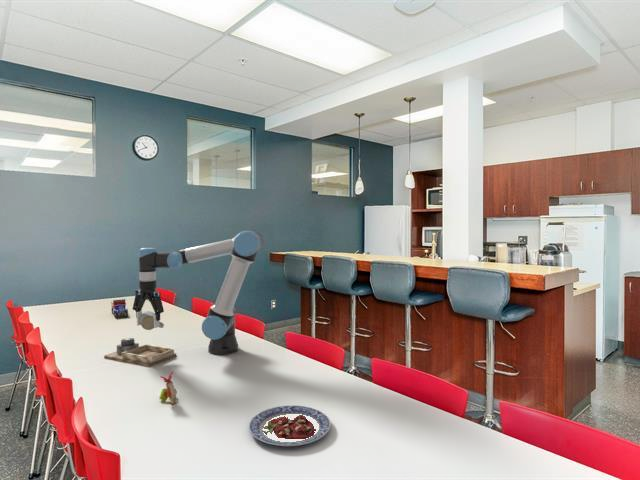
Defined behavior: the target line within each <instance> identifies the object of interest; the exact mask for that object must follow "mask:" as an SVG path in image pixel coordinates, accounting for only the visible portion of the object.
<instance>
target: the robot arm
mask: <svg viewBox="0 0 640 480" xmlns="http://www.w3.org/2000/svg"><path fill="white" fill-rule="evenodd" d="M263 246H264V239H263V236H262V235H261V234H260V232H258V231H255V230H252V229H251V230H250V229H249V230H242V231H240V232H239V233H238V234H236V235H235V236H234V237H233V238H229V239H225V240H221V241H220V240H219V241H215V242H210V243H207V244H206V243H205V244H201V245H197V246H192V247H188V248H185V249H179V250H175V251H168V252H166V251H165V252H164V251H163V252H158V251H157V249H156V248H155V247H142V248H140V249H139V252H138V253H139V254H138V267H139V268H138V269H139V270H138V271H139V272H138V280H139V284H138V286H139V287H138V288H139V289H138V290H135V291H134V292H135V296H134V301H133V305H132V311H135V317H136V326H141V323H140V317H141V315H142V314H143V307H144V304H145V303H146V301H148V302H150V304H151V307H152V309H153V311H154V312H153V313H155V314H154V328H153V329H157V328H159V327H160V326H159V321H161V314H162V313H164V311H165V309H164V306H163V302H162V298H161V291H156V288H157V269H180V268H181V267H182V265H183V266H184V265H186V264H190V263H191V264H192V263H195V262H200V261H204V260H205V261H206V260H210V259H214V258H218V257H224V256H228V255H230V256H231V257H232V259H231V262H230V264H229V267H228V269H227V272H226V275H225V277H224V280H223V283H222V284H221V287H220V291H219V293H218V295H217V298H216V301H215V303H214V304H213V305H211V306H210V308H209V310H208V313H207V314H206V315H207V316H206V317H205V318H204V319H203V320H202V324H201V331H202V334H203V335H204V336H205V337H206V338H208V340H209V339H210V341H209V344H208V347H207V351H208V353H209V354H213V355H230V354H233V353H236V352H238V351H239V343H238V341H237V337H236V308H235V304H236V301H237V299H238V296H239V293H240V290H241V288H242V286H243V283H244V281H245V278H246V275H247V273H248V270H249V267H250V265H251V264H253V263H254V262H255V260H256V258H257V255H258V253H259V251H260V250H261V249H263Z"/></svg>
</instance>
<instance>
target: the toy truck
mask: <svg viewBox="0 0 640 480" xmlns="http://www.w3.org/2000/svg"><path fill="white" fill-rule="evenodd" d="M110 302H111V303H110V304H111V305H110V306H111V309H110V310H111V314H112V315H114V317H115V319H117V318H118V316H120V315H121V316H122V315H125V317H126V316H127V317H126V318H128V317H129V309H128V308H126V306H127V303H126V299H124V298H123V299H113V300H111V301H110Z"/></svg>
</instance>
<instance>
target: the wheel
mask: <svg viewBox="0 0 640 480" xmlns="http://www.w3.org/2000/svg"><path fill="white" fill-rule="evenodd" d="M134 343H135V338H133V337H128V338H123V339H121V340H120V344H121V345H123V346H127V345H132V344H134Z"/></svg>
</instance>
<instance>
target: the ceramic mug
mask: <svg viewBox="0 0 640 480" xmlns="http://www.w3.org/2000/svg"><path fill="white" fill-rule="evenodd" d="M154 314H155V312H153V311H144V312H142V315H141V317H140V323H141V325H140V326H141V327H142V329H144V330H148V331H150V330H151V331H152V330H154V329H155V328H154ZM159 326H160V327H158V328H161V329H163V328H164V327H165V324H164V323H163V322H162V321H161V320H159Z"/></svg>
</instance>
